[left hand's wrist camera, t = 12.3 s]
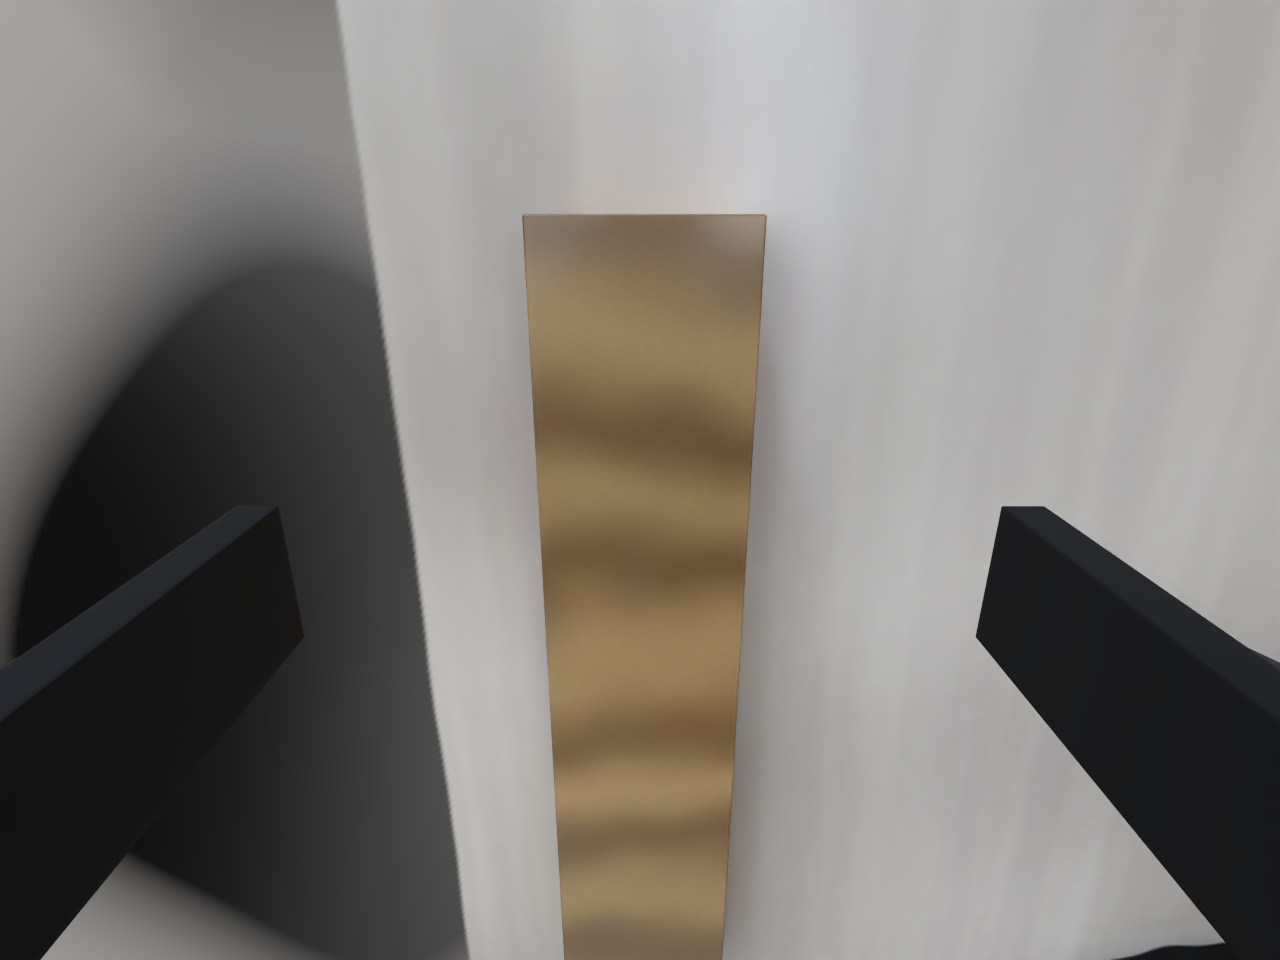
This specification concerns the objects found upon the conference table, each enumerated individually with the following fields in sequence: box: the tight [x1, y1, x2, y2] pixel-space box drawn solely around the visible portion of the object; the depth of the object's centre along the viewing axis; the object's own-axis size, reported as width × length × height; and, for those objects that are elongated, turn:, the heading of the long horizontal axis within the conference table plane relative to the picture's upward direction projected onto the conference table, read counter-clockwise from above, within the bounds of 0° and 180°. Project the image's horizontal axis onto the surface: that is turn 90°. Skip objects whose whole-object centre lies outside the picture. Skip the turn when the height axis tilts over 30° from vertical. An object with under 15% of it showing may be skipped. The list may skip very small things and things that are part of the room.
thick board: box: [522, 214, 767, 960], centre depth 39 cm, size 50×10×7 cm, turn 0°
